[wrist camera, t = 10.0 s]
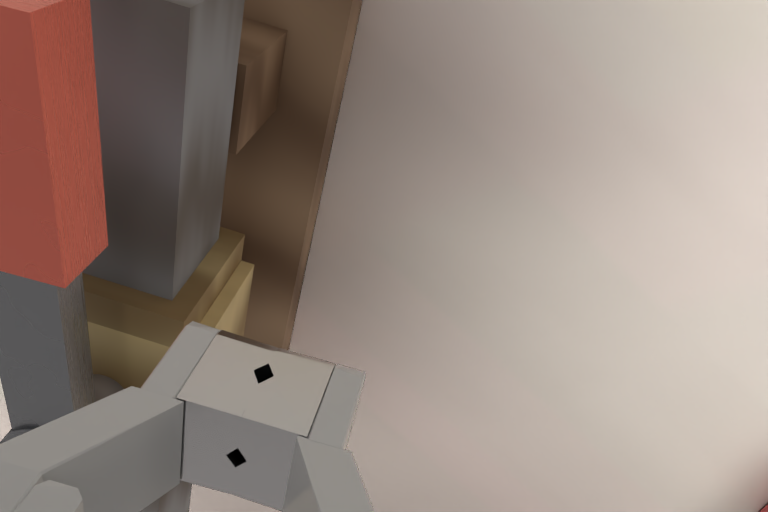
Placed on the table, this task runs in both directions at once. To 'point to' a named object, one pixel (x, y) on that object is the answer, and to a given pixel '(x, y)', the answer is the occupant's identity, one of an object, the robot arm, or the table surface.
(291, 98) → the valve stand
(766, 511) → the ink cartridge box
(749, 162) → the table surface
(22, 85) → the lever
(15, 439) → the robot arm
